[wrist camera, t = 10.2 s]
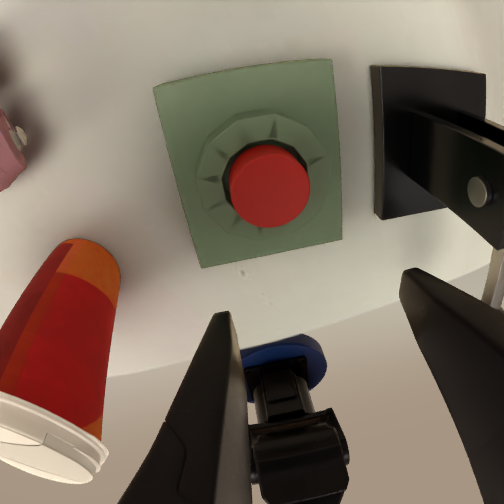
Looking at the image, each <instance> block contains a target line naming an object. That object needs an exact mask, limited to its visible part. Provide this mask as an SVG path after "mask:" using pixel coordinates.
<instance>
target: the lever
mask: <svg viewBox="0 0 504 504" xmlns="http://www.w3.org/2000/svg"><path fill="white" fill-rule="evenodd" d="M503 297H504V249H502V250H499V251H497V250H496V249H495V248H494V247H493V251H492V256H491V261H490V267H489V271H488V276H487V280H486V284H485V288H484V293H483V296H482V300H481V301H482V302H484V303H486V304H488V305H489V306H491V307H493V308H495V309H497V310H498V311H500V312H502V313H504V310H503V309H502V307H501V304H502V300H503Z"/></svg>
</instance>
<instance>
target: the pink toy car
mask: <svg viewBox="0 0 504 504" xmlns="http://www.w3.org/2000/svg"><path fill="white" fill-rule="evenodd" d="M16 131H17V133H16V132H15V131H14V129H13V126H12V124H11V122H10V120H9V118H8V117H7V115H6V113H5V112H4V111H3V110H2V109H1V108H0V192H1V191H3V190H4V189H6V188H8V187H10V185H11V184H12V182H13V181H14V180H15V179H16V177H17V176H18V175H19V174H20V173H21V172H22V171H24V170H25V169H26V168H27V164H26V161H25V158H24V156H23V153H22V150H21V148H22V145H21V141H22V142H23V143H24V144H25V146H26V145H27V136H26V134H25V132H24V131H23V129H21V128H20V127H18V126H16Z"/></svg>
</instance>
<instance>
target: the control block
mask: <svg viewBox="0 0 504 504" xmlns="http://www.w3.org/2000/svg"><path fill="white" fill-rule="evenodd" d="M153 92H154V96H155V100H156V105H157V109H158V113H159V117H160V121H161V125H162V129H163V133H164V137H165V141H166V145H167V149H168V153H169V157H170V161H171V165H172V168H173V172H174V176H175V179H176V183H177V187H178V191H179V194H180V198H181V201H182V205H183V208H184V212H185V215H186V219H187V222H188V226H189V229H190V233H191V236H192V240H193V243H194V246H195V250H196V253H197V256H198V260H199V263H200V266H201V268H206V267H211V266H216V265H221V264H226V263H231V262H236V261H241V260H246V259H251V258H256V257H260V256H265V255H270V254H275V253H280V252H285V251H290V250H294V249H299V248H304V247H309V246H314V245H319V244H323V243H328V242H333V241H338V240H342V190H341V165H340V147H339V132H338V118H337V107H336V96H335V86H334V76H333V67H332V60H331V59H308V60H296V61H286V62H277V63H269V64H261V65H254V66H247V67H241V68H235V69H229V70H223V71H218V72H213V73H208V74H203V75H198V76H194V77H189V78H185V79H181V80H176V81H172V82H168V83H165V84H161V85H158V86H156V87H154V88H153ZM265 144H269V145H276V146H279V147H282V148H284V149H286V150H287V151H289V152H290V153H291V154H292V155H293V156H294V157H295V158H296V159H297V161H298V162H299V163H300V164H301V165H302V166H303V168H304V169H305V171H306V172H307V175H308V177H309V180H310V195H309V199H308V202H307V204H306V206H305V208H304V209H303V211H302V212H301V213H300V214H299V215H298V216H297V217H296V218H295V219H293V220H292V221H290V222H289V223H287V224H284V225H282V226H278V227H273V228H264V227H258V226H255V225H252V224H250V223H248V222H246V221H245V220H244V219H242V218H241V217H240V216H239V215H238V213H237V212H236V210H235V209H234V206H233V204H232V200H231V195H230V189H229V183H228V179H229V172H230V169H231V167H232V165H233V163H234V161H235V160H236V159H237V158H238V156H240V155H241V154H242V153H243V152H244V151H246V150H248V149H250V148H252V147H254V146H258V145H265Z"/></svg>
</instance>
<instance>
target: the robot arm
mask: <svg viewBox="0 0 504 504" xmlns="http://www.w3.org/2000/svg"><path fill="white" fill-rule="evenodd" d="M399 298H400V301H401V303H402V306H403V308H404V311H405V313H406V316H407V318H408V321H409V323H410V326H411V329H412V331H413V334H414V336H415V339H416V341H417V344H418V346H419V348H420V350H421V352H422V354H423V356H424V358H425V360H426V362H427V364H428V366H429V368H430V370H431V372H432V374H433V376H434V378H435V380H436V383H437V385H438V387H439V389H440V391H441V394H442V396H443V398H444V400H445V402H446V405H447V407H448V409H449V412H450V413H451V416H452V418H453V421H454V423H455V425H456V428H457V430H458V433H459V435H460V438H461V440H462V443H463V445H464V448H465V450H466V453H467V455H468V458H469V461H470V464H471V467H472V469H473V472H474V475H475V478H476V480H477V483H478V486H479V489H480V492H481V495H482V498H483V502H484V504H504V313H502V312H500V311H498V310H497V309H495V308H493V307H491V306H489V305H488V304H486V303H484V302H482V301H480V300H478V299H477V298H475V297H473V296H471V295H469V294H467V293H465V292H464V291H461V290H460V289H458V288H456V287H454V286H452V285H450V284H448V283H446V282H444V281H443V280H441V279H439V278H437V277H435V276H433V275H431V274H429V273H427V272H425V271H423V270H421V269H419V268H411V269H407V270H405V271H404V272H403V273H402V278H401V284H400V290H399ZM244 376H245V378H244ZM245 379H246V382H247V385H248V388H249V391H250V394H251V397H252V400H253V401H254V402H255V408H256V414H257V420H258V424H253V425H249V424H248V412H247V392H246V384H245ZM165 421H166V422H163V424H162V426H161V429H160V431H159V433H158V435H157V437H156V440H155V441H154V443H153V445H152V447H151V449H150V451H149V453H148V455H147V456H146V458H145V460H144V461H143V463H142V465H141V467H140V468H139V470H138V472H137V473H136V475H135V477H134V478H133V480H132V481H131V483H130V484H129V486H128V488H127V489H126V491H125V492H124V494H123V495H122V497H121V499H120V500H119V502H118V503H117V504H252V488H251V483H252V485H255V484H259V486H260V491H261V496H262V498H263V499H264V500H265V502H266V503H267V504H340V502H341V500H342V497H343V494H344V491H345V490H346V489H347V486H348V482H349V476H348V472H347V468H346V465H348V464H349V450H348V445H347V441H346V439H345V436H344V433H343V431H342V430H341V427H340V425H339V423H338V420H337V418H336V416H335V414H334V411H333V409H332V408H328V409H326V410H323V411H319V412H315V410H314V407H313V404H312V400H311V397H310V393H309V390H308V367H307V358H306V356H304V355H302V356H297V357H293V358H289V359H284V360H279V361H275V362H270V363H265V364H260V365H255V366H250V367H246V368H244V369H243V367H242V361H241V355H240V350H239V344H238V338H237V334H236V330H235V327H234V323H233V320H232V316H231V313H230V312H229V311H224V312H219V313H215V314H214V315H213V317H212V319H211V321H210V323H209V325H208V327H207V329H206V332H205V334H204V336H203V338H202V340H201V342H200V344H199V347H198V349H197V351H196V353H195V355H194V357H193V360H192V362H191V364H190V366H189V368H188V370H187V373H186V375H185V377H184V379H183V381H182V383H181V386H180V388H179V390H178V392H177V394H176V396H175V398H174V401H173V403H172V405H171V407H170V409H169V411H168V414H167V416H166V418H165Z"/></svg>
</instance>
